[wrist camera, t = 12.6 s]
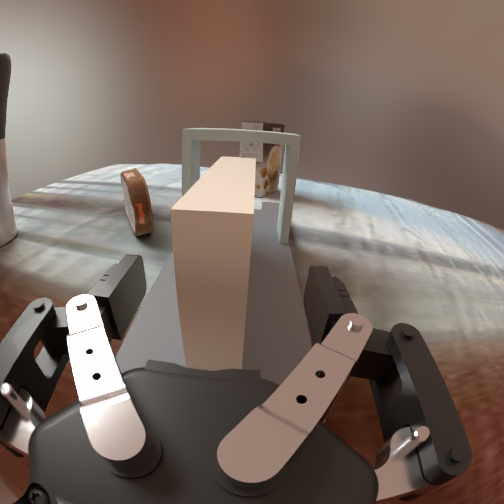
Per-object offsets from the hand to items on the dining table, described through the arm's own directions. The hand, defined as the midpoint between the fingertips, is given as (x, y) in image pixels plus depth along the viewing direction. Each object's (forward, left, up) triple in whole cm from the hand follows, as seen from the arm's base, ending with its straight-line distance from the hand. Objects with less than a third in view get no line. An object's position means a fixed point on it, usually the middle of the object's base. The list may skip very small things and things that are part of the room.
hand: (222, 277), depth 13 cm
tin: (-17, +26, -9) cm, 32 cm away
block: (0, +8, -7) cm, 11 cm away
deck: (-1, +16, -9) cm, 18 cm away
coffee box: (+2, +50, -9) cm, 51 cm away
